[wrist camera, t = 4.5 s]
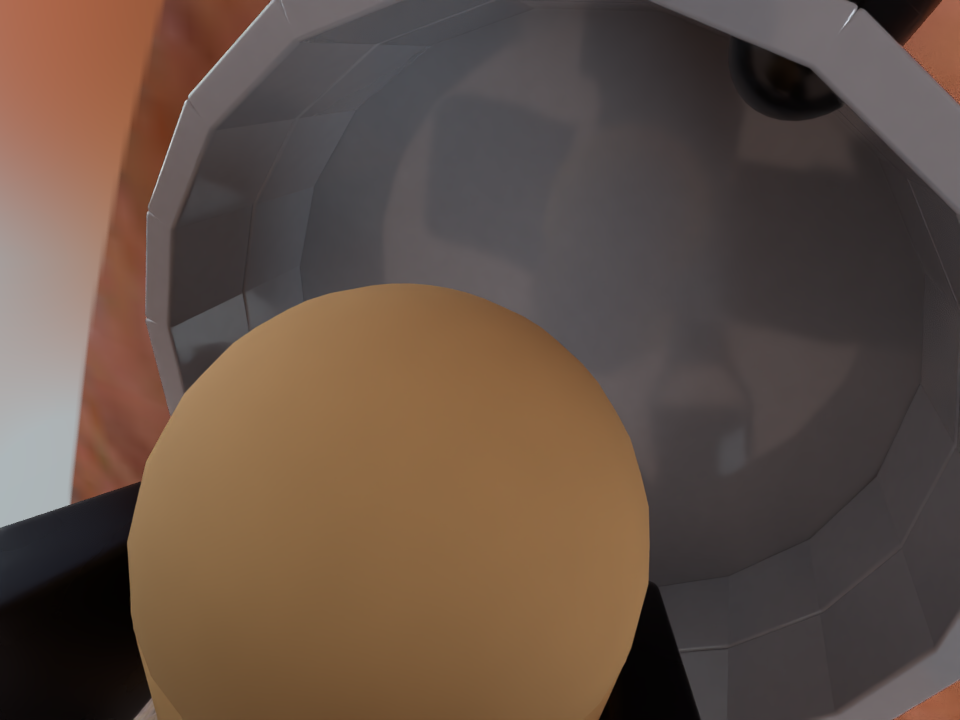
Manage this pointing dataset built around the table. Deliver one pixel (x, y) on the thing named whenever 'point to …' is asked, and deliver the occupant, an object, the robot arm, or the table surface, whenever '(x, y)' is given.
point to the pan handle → (797, 89)
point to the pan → (636, 285)
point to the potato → (389, 522)
